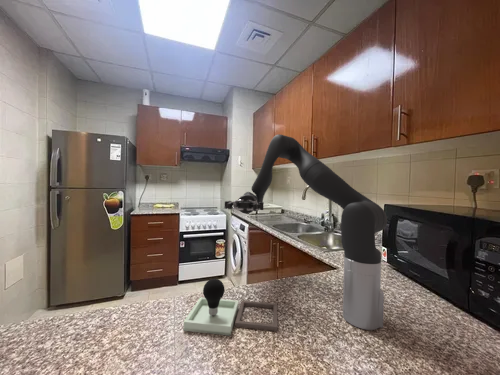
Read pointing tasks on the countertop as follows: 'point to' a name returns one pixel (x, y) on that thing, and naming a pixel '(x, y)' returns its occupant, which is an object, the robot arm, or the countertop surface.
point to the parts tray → (212, 317)
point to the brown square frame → (255, 324)
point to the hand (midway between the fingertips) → (241, 206)
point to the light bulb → (213, 294)
